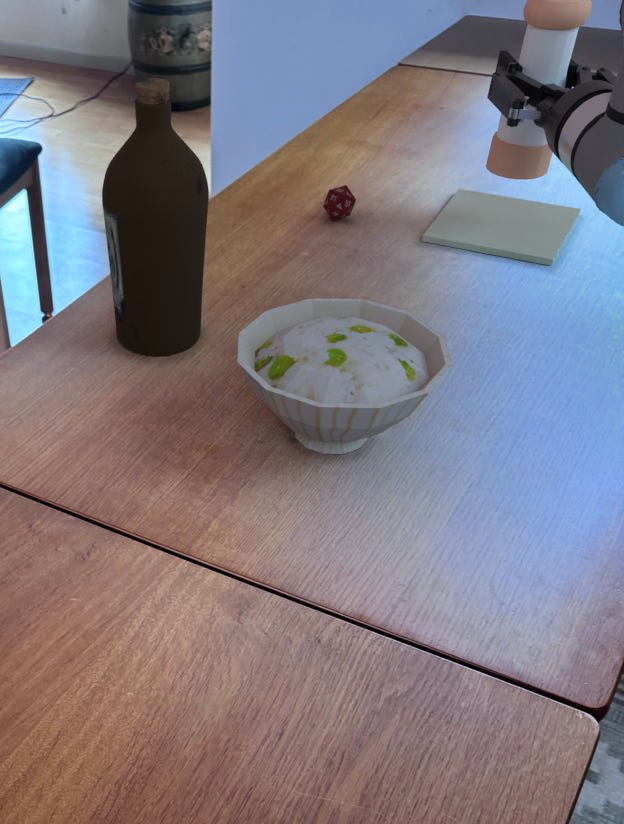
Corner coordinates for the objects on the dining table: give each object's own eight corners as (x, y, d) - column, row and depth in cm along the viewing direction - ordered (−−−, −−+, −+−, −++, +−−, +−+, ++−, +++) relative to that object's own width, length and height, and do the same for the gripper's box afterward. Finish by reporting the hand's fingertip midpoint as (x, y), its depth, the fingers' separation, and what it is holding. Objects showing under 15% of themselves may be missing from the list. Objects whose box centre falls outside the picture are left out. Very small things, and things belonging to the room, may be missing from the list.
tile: (579, 215, 119) (581, 208, 118) (551, 265, 109) (553, 259, 109) (457, 194, 124) (459, 188, 124) (421, 241, 115) (422, 235, 114)
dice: (315, 219, 120) (318, 188, 117) (337, 209, 122) (341, 178, 119) (337, 228, 118) (341, 196, 115) (359, 217, 120) (364, 186, 117)
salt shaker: (477, 172, 111) (520, -17, 97) (497, 153, 115) (541, -32, 101) (536, 184, 108) (590, -9, 94) (555, 163, 112) (609, -25, 98)
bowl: (189, 429, 89) (190, 335, 82) (324, 358, 97) (335, 266, 90) (339, 524, 79) (354, 426, 71) (475, 435, 87) (502, 339, 79)
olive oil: (203, 310, 105) (207, 62, 86) (208, 358, 98) (213, 100, 79) (112, 313, 105) (96, 67, 87) (110, 361, 98) (92, 105, 79)
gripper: (493, 175, 95) (441, 100, 110) (672, 168, 95) (594, 94, 110) (513, 94, 89) (455, 28, 105) (702, 87, 89) (616, 22, 105)
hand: (526, 62), depth 108 cm, fingers closed on salt shaker, 5 cm apart
